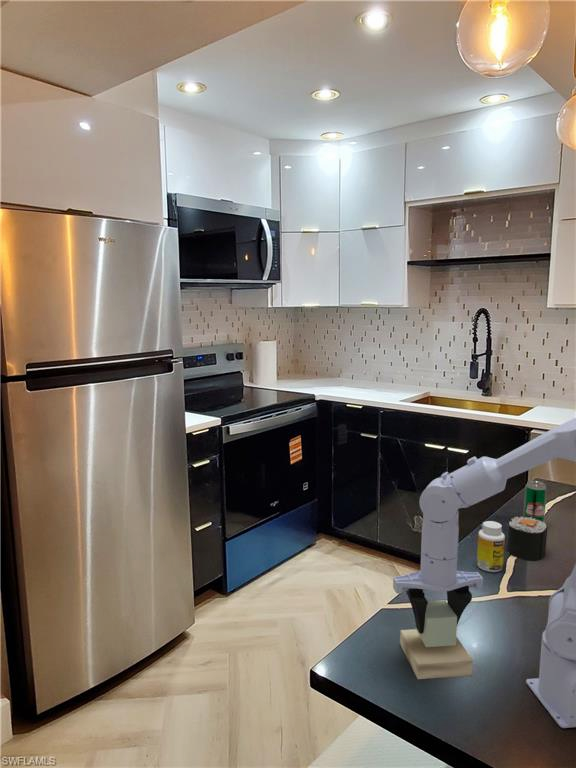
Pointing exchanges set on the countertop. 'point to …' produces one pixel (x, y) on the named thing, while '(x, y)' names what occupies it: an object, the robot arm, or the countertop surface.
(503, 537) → the supplement bottle
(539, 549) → the sushi
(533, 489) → the soda can
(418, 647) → the maple block
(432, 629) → the green cube
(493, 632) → the countertop surface
